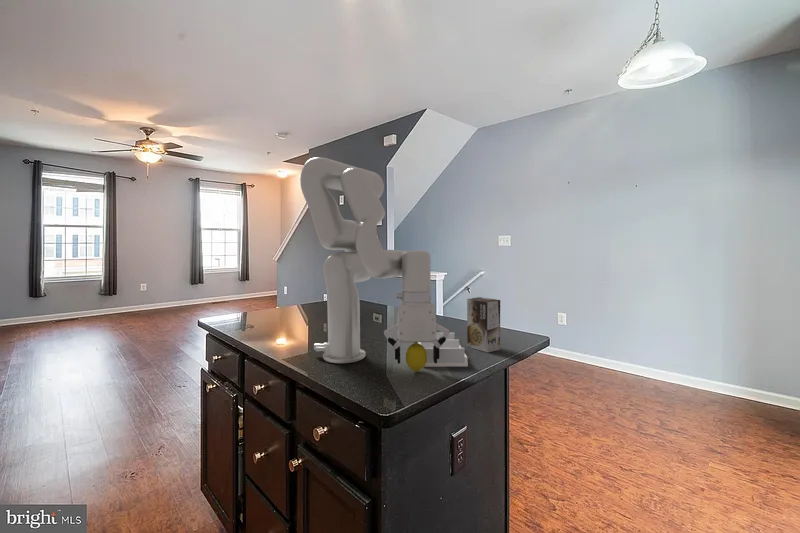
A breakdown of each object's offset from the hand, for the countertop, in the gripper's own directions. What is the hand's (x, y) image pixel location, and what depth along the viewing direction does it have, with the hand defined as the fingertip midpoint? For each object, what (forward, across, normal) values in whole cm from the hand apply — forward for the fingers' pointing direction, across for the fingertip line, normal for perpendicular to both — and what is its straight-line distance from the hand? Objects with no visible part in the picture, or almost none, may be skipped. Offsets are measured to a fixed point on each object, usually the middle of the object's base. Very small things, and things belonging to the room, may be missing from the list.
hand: (417, 361), depth 95 cm
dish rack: (+3, +8, +14) cm, 16 cm away
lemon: (+3, 0, 0) cm, 3 cm away
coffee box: (+3, +23, +22) cm, 32 cm away
